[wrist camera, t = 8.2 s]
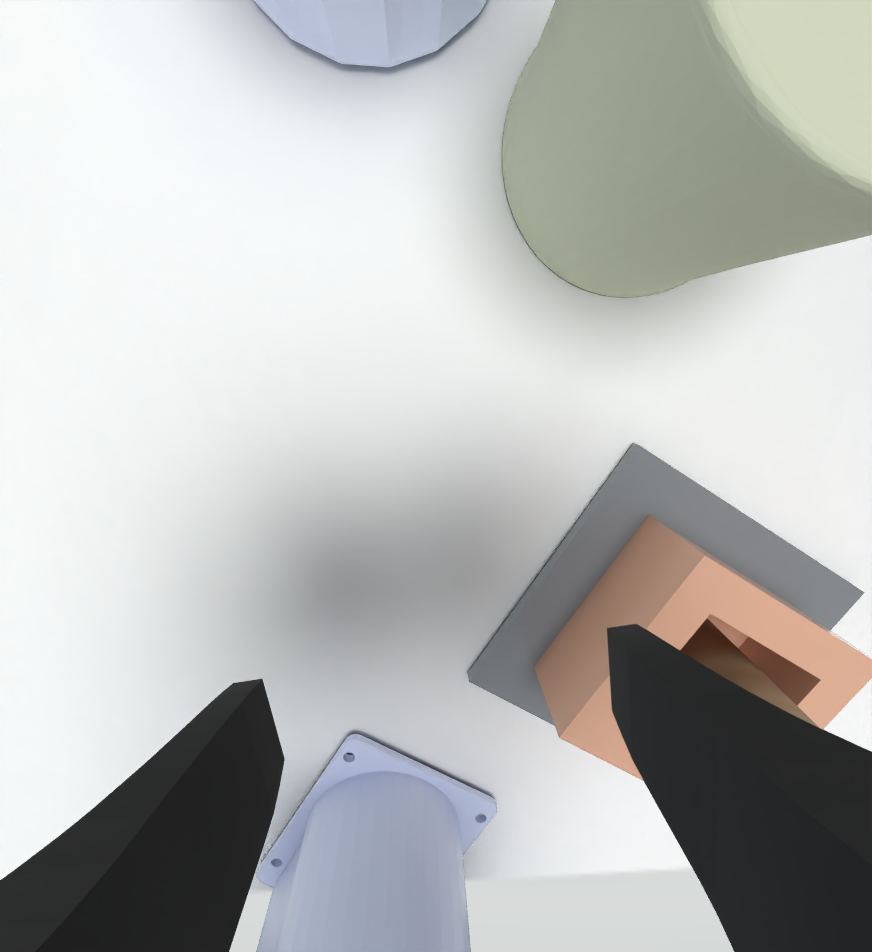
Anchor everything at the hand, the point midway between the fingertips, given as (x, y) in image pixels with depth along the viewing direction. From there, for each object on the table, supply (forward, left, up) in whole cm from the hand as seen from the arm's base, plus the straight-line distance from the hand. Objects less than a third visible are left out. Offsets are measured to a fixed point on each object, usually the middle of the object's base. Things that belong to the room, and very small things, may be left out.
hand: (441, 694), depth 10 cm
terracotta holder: (+1, -11, -10) cm, 15 cm away
